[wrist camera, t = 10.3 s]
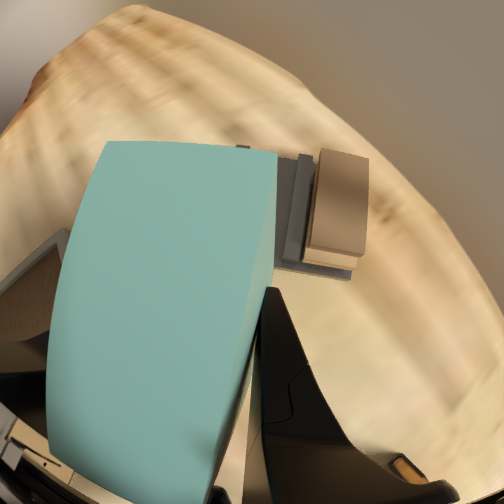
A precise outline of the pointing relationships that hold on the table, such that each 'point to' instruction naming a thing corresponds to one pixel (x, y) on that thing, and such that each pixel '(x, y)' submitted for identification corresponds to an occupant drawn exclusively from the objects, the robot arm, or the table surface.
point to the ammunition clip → (407, 470)
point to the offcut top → (340, 204)
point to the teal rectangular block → (160, 316)
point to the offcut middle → (323, 256)
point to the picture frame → (32, 290)
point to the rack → (296, 218)
